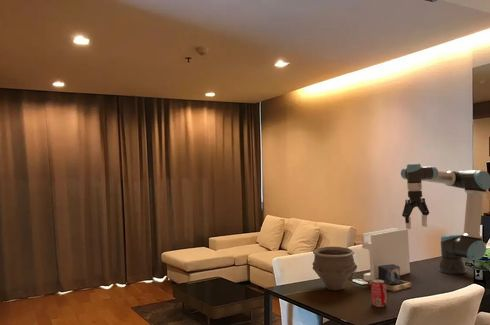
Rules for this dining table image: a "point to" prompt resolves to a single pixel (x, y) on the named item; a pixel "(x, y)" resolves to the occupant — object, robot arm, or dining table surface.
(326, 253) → the planter
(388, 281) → the small box
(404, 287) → the tray
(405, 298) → the dining table surface
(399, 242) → the block
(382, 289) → the soda can
